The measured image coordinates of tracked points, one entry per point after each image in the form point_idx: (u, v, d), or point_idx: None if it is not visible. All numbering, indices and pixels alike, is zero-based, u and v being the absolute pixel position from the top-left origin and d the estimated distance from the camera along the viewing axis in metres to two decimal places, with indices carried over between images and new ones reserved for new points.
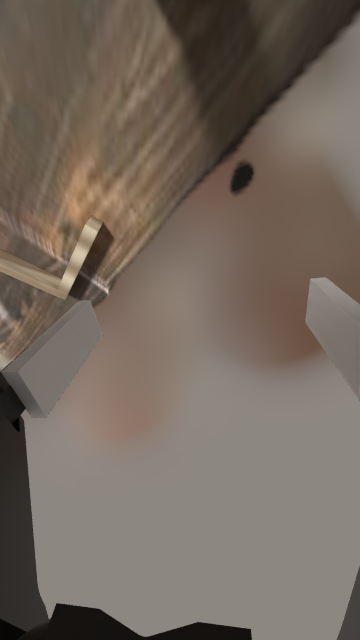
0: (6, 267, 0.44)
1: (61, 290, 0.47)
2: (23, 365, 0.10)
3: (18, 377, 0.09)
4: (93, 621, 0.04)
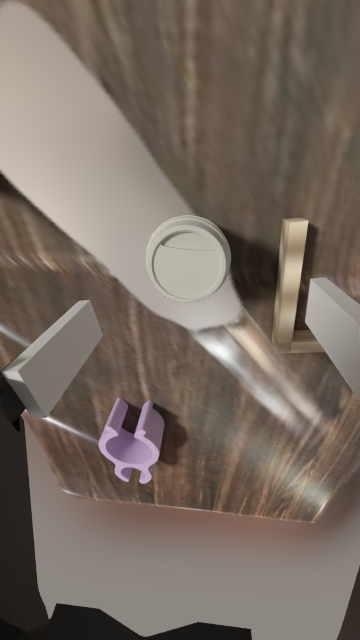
0: None
1: None
2: (23, 365, 0.10)
3: (18, 377, 0.09)
4: (93, 621, 0.04)
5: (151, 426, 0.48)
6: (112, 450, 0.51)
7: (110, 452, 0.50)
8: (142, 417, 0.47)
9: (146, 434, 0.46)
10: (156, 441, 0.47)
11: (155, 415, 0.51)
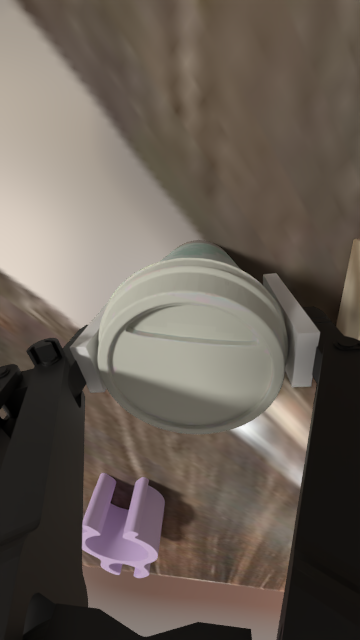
0: None
1: None
2: (88, 341, 0.10)
3: (84, 352, 0.10)
4: (93, 621, 0.04)
5: (146, 517, 0.35)
6: (96, 542, 0.38)
7: (93, 546, 0.37)
8: (133, 506, 0.34)
9: (139, 532, 0.33)
10: (154, 537, 0.35)
11: (152, 495, 0.38)
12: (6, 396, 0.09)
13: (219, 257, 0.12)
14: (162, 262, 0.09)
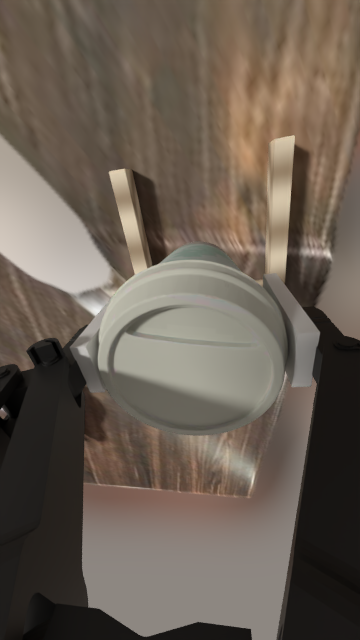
0: None
1: None
2: (88, 341, 0.10)
3: (85, 352, 0.10)
4: (93, 621, 0.04)
5: None
6: None
7: None
8: None
9: None
10: None
11: None
12: (6, 396, 0.09)
13: (219, 259, 0.12)
14: (162, 264, 0.09)
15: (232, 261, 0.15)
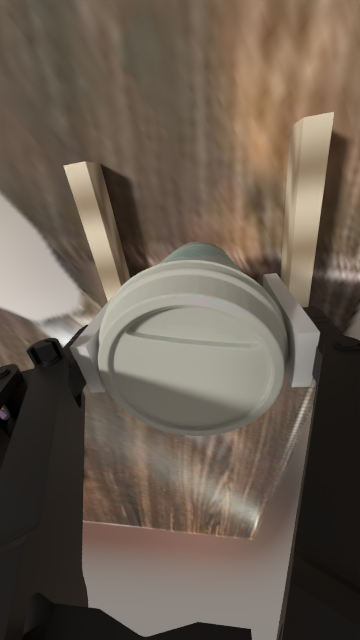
0: None
1: None
2: (88, 341, 0.10)
3: (85, 352, 0.10)
4: (93, 621, 0.04)
5: None
6: None
7: None
8: None
9: None
10: None
11: None
12: (6, 396, 0.09)
13: (219, 259, 0.12)
14: (162, 264, 0.09)
15: (232, 261, 0.15)
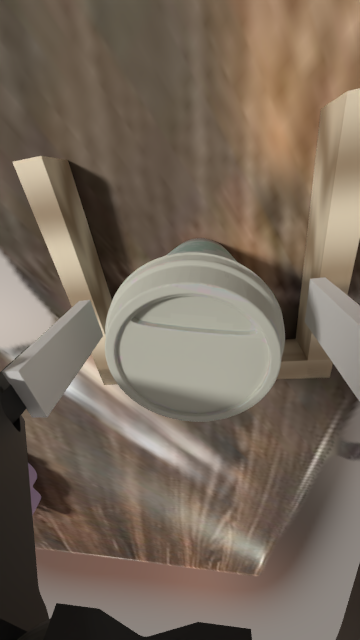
0: None
1: (317, 356, 0.20)
2: (24, 365, 0.10)
3: (19, 377, 0.09)
4: (93, 621, 0.04)
5: None
6: None
7: None
8: None
9: None
10: None
11: None
12: None
13: (220, 253, 0.13)
14: (166, 257, 0.10)
15: None
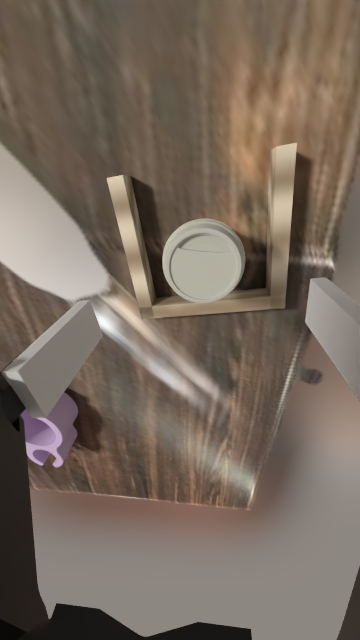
0: (204, 303, 0.34)
1: (276, 293, 0.32)
2: (23, 365, 0.10)
3: (18, 377, 0.09)
4: (93, 621, 0.04)
5: (54, 407, 0.48)
6: None
7: None
8: None
9: None
10: (58, 421, 0.48)
11: (63, 397, 0.51)
12: None
13: None
14: (192, 221, 0.23)
15: None
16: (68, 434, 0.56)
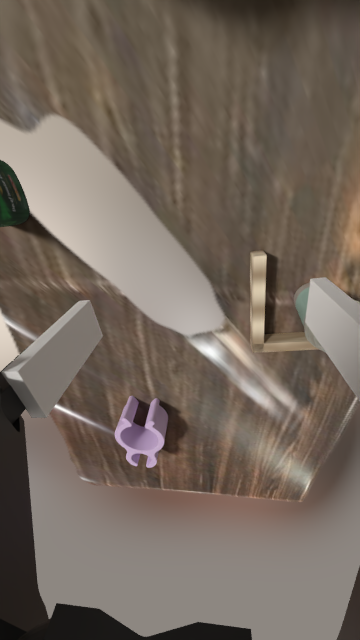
0: (307, 342, 0.44)
1: None
2: (23, 365, 0.10)
3: (18, 377, 0.09)
4: (93, 621, 0.04)
5: (158, 419, 0.59)
6: (125, 439, 0.61)
7: (123, 440, 0.61)
8: (151, 411, 0.58)
9: (154, 425, 0.57)
10: (162, 431, 0.58)
11: (161, 410, 0.61)
12: None
13: None
14: None
15: None
16: None
